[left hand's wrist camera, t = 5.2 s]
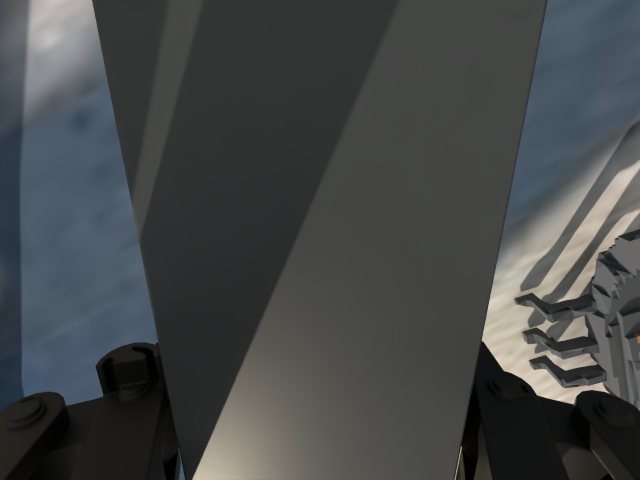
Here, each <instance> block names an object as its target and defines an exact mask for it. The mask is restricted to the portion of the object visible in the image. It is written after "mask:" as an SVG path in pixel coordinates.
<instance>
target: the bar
mask: <svg viewBox="0 0 640 480" xmlns="http://www.w3.org/2000/svg"><path fill="white" fill-rule="evenodd" d="M547 1H548V0H92V2H93V7H94V12H95V17H96V22H97V28H98V33H99V38H100V43H101V48H102V53H103V58H104V64H105V69H106V74H107V79H108V84H109V89H110V94H111V100H112V105H113V110H114V115H115V120H116V125H117V131H118V136H119V141H120V146H121V151H122V156H123V161H124V167H125V172H126V177H127V182H128V187H129V192H130V197H131V203H132V208H133V213H134V218H135V223H136V228H137V233H138V239H139V244H140V249H141V254H142V259H143V264H144V270H145V275H146V280H147V285H148V290H149V295H150V300H151V306H152V311H153V316H154V321H155V326H156V331H157V336H158V342H159V347H160V352H161V357H162V362H163V367H164V373H165V378H166V383H167V388H168V393H169V398H170V403H171V409H172V414H173V419H174V424H175V429H176V434H177V439H178V445H179V450H180V455H181V460H182V465H183V470H184V475H185V480H455V475H456V469H457V464H458V459H459V454H460V449H461V444H462V439H463V433H464V428H465V423H466V418H467V413H468V408H469V402H470V397H471V392H472V387H473V382H474V377H475V372H476V366H477V361H478V356H479V351H480V346H481V341H482V336H483V330H484V325H485V320H486V315H487V310H488V305H489V299H490V294H491V289H492V284H493V279H494V274H495V269H496V263H497V258H498V253H499V248H500V243H501V238H502V232H503V227H504V222H505V217H506V212H507V207H508V202H509V196H510V191H511V186H512V181H513V176H514V171H515V166H516V160H517V155H518V150H519V145H520V140H521V135H522V129H523V124H524V119H525V114H526V109H527V104H528V99H529V93H530V88H531V83H532V78H533V73H534V68H535V62H536V57H537V52H538V47H539V42H540V37H541V32H542V26H543V21H544V16H545V11H546V6H547Z"/></svg>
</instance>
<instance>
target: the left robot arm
mask: <svg viewBox="0 0 640 480" xmlns="http://www.w3.org/2000/svg"><path fill="white" fill-rule="evenodd" d="M96 369H97V373H98V377H99V380H100V384H101V387H102V391H103V397H101V398H98V399H94V400H90V401H86V402H82V403H77V404H73V405H69V406H66V404H65V401H64V398H63V397H62V396H61V395H60V394H59V393H54V392H43V393H36V394H33V395H30V396H27V397H25V398H22V399H20V400H18V401H16V402H14V403H12V404H11V405H9V406H7V407H6V408H5V409H3V410H2V411H1V412H0V480H179V474H180V464H181V461H180V454H179V449H178V448H179V445H178V439H177V434H176V429H175V424H174V419H173V414H172V409H171V403H170V398H169V393H168V388H167V383H166V378H165V373H164V367H163V362H162V357H161V352H160V347H159V342H158V343H156V345H154V344H150V343H145V342H144V343H132V344H128V345H124V346H121V347H119V348H117V349H115V350H113V351H111V352H109V353H108V354H106V355H105V356H104V357H102V358H101V359H100V361H99V362H98V363H97V365H96ZM461 446H462V449H461V454H460V459H459V464H458V469H457V475H456V480H640V410H639V409H638V408H636V407H635V406H634V405H633V404H631V403H629V402H627V401H625V400H623V399H621V398H620V397H617V396H615V395H612V394H609V393H606V392H601V391H594V390H589V391H582V392H581V393H580V394H579V395H577V397H576V400H575V403H574V405H573V404H569V403H565V402H560V401H556V400H552V399H547V398H544V397H541V396H537V395H536V393H535V392H534V390H533V389H532V387H531V386H530V385H529V384H528V383H526V382H525V381H524V380H523V379H521V378H519V377H518V376H516V375H514V374H512V373H509V372H505V371H503V369H502V368H501V366H500V365H499V363H498V362H497V361H496V359H495V358H494V356H493V355H492V353H491V352H490V351H489V349H488V348H487V346H486V345H485V343H484V342H482V341H481V346H480V351H479V356H478V361H477V366H476V372H475V377H474V382H473V387H472V392H471V397H470V402H469V408H468V413H467V418H466V423H465V428H464V433H463V439H462V444H461Z"/></svg>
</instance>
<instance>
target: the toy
mask: <svg viewBox="0 0 640 480" xmlns="http://www.w3.org/2000/svg"><path fill="white" fill-rule="evenodd" d="M515 304H516V305H521V306H527V307H533V308H534V309H536V310H537V311H538V312H539V313H540V314H541V315H542V316H544V317H545V318H546V319H547V320H548V321H550V322H552V323H554V322H557V321H560V320H563V319H567V318H569V319H570V320H573V319H575V318H578V317H581V316H584V315H585V323H586V327H587V328H588V337H585V336H582V337H578V338H574V339H570V340H565V341H560V342H556V341H555V340H554V339H553V337H551V338H550V339H549V338H548V337H547V336H546V334H545V333H544V332H543V331H541V330H540V329H538V328H533V329H530V330H527V331H524V332H522V333H523V337H524V340H525V341H526V343H527V344H535V343H541V344H543V345H545V346H547V348H548V349H549V350H550V351H551V353H552V354H554V355H556V356H558V357H560V358H562V359H567V358H571V357H575V356H578V355H582V354H586V353H590V354H591V358H592V359H593V360H595V361H596V362H597V363H598V364H597V365H594V366H586V367H580V368H575V369H571V370H567V371H565V370H563V369H562V368H560V367H558V366H557V365H555V364H554V363H553V362H552V361H551V360H550V359H549V358H548V357H547V356H546V355H545V356H542V357H538V358H535V359H532V360H529V362H530V366H531V367H532V368H533V369H534V370H536V369H546V370H547V371H548V372H549V373H550V374H551V375H552V376H553V377H554V378H555V379H556V380H557V382H558V383H559V384H560V385H561V386H562V387H564V388H572V387H579V386H584V385H588V386H589V385H593V384H597V383H600V382H603V385H604V387H605V389H606V390H607V391H608V392H609V393H610V394H612V395H615V396H617V397H620V398H621V399H623V400H625V401H627V402H629V403H631V404H633V405H634V406H635V407H636V408H638V409H639V410H640V229H639V230H636V231H633V232H630V233H627V234H624V235H621V236H618V238H616V239H615V244H614V245H612V247H609V249H608V250H607V251H604V252H601V253H599V254H598V258H597V260H596V271H595V276H594V277H592V279H591V288H590V294H588V295H585V296H582V297H580V298H577V299H572V300H566V301H562V302H559V303H555V304H549V303H547V302H544V301H542V300H540V299H539V298H538V297H537V296H535V295H534V294H533V293H530V294H527V295H524V296H521V297H518V298H515Z"/></svg>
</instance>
